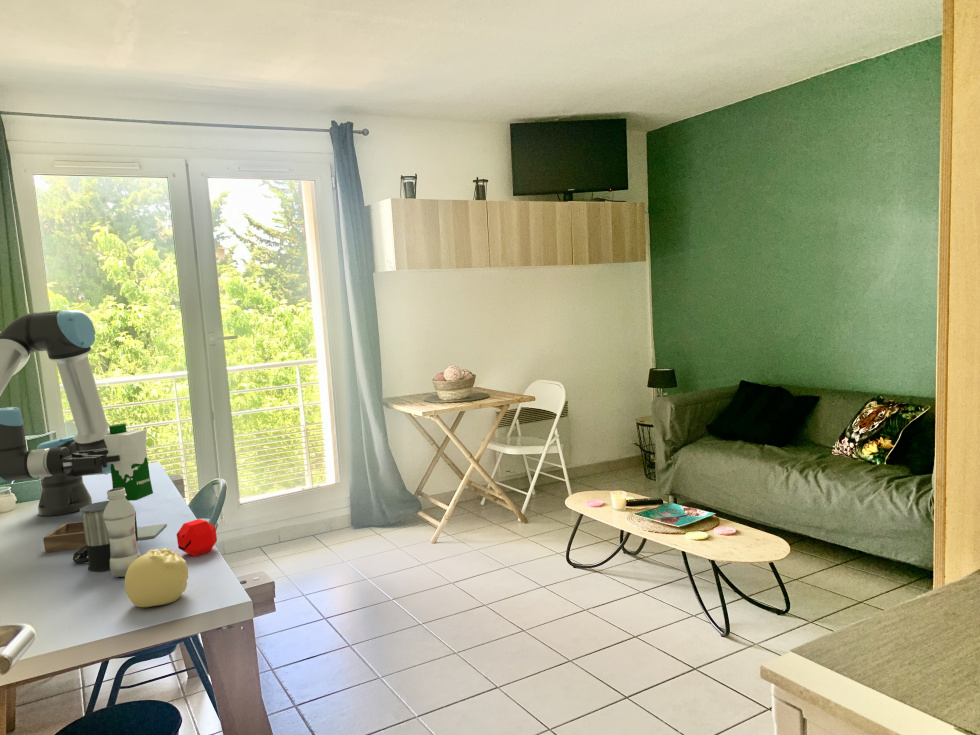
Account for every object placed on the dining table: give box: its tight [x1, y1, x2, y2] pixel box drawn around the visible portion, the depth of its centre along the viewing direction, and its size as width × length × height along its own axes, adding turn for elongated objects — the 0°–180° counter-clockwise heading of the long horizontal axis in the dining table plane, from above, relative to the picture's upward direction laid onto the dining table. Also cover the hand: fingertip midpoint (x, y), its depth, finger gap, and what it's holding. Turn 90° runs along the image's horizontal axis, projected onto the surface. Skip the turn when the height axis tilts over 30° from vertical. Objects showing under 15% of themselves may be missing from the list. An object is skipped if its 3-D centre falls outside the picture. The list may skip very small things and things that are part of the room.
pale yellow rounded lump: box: [124, 547, 189, 608], centre depth 150 cm, size 12×12×11 cm
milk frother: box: [72, 500, 139, 572], centre depth 178 cm, size 14×16×15 cm
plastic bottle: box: [103, 488, 141, 578], centre depth 167 cm, size 6×7×20 cm
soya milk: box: [103, 423, 154, 502], centre depth 198 cm, size 9×9×20 cm
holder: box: [42, 520, 86, 554], centre depth 198 cm, size 13×13×4 cm
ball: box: [176, 518, 218, 557], centre depth 180 cm, size 8×8×8 cm
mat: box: [137, 523, 168, 541], centre depth 201 cm, size 11×11×1 cm
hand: (139, 452), depth 199 cm, fingers closed on soya milk, 9 cm apart
